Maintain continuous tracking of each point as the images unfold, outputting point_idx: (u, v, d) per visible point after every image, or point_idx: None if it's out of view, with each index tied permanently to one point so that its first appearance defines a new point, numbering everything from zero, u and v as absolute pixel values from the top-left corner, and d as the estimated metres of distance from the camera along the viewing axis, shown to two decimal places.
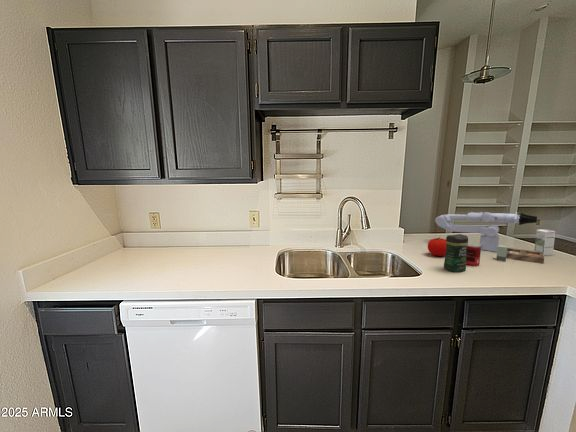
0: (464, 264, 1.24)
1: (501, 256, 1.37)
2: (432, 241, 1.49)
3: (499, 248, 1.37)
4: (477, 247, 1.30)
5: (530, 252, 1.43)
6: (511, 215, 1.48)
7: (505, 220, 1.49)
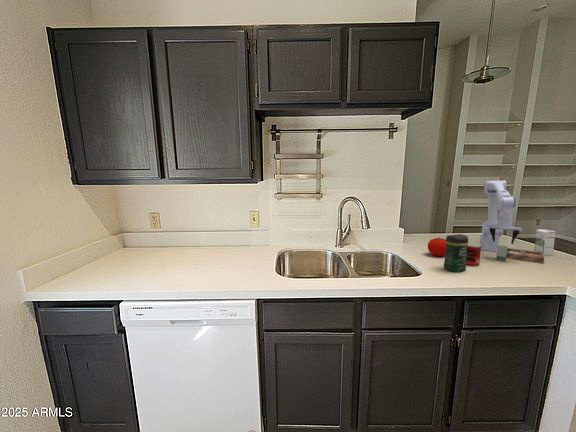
0: (464, 264, 1.24)
1: (501, 256, 1.37)
2: (432, 241, 1.49)
3: (499, 248, 1.37)
4: (477, 247, 1.30)
5: (530, 252, 1.43)
6: (500, 223, 1.36)
7: None
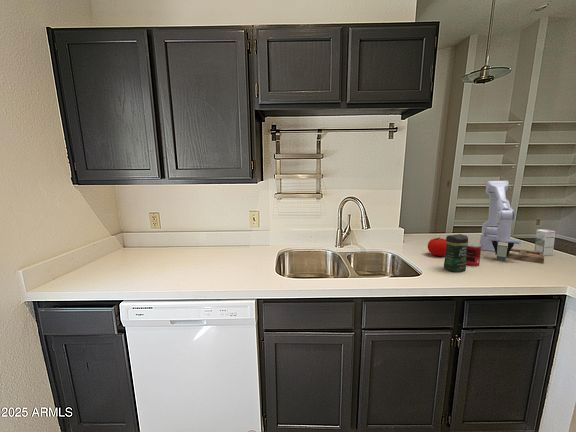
0: (464, 264, 1.24)
1: (501, 256, 1.37)
2: (432, 241, 1.49)
3: (499, 248, 1.37)
4: (477, 247, 1.30)
5: (530, 252, 1.43)
6: (498, 236, 1.37)
7: None
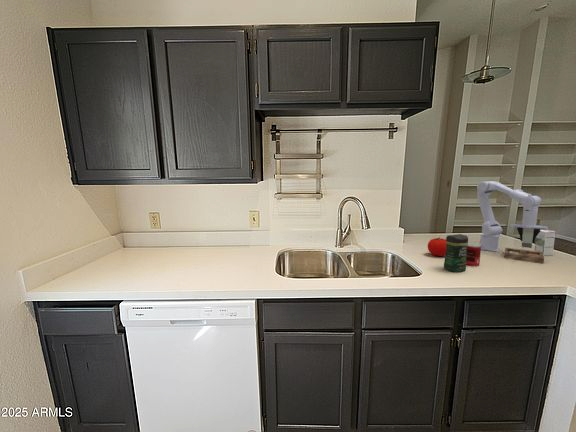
0: (464, 264, 1.24)
1: (527, 243, 1.37)
2: (432, 241, 1.49)
3: (525, 235, 1.37)
4: (477, 247, 1.30)
5: (530, 252, 1.43)
6: (524, 222, 1.37)
7: None
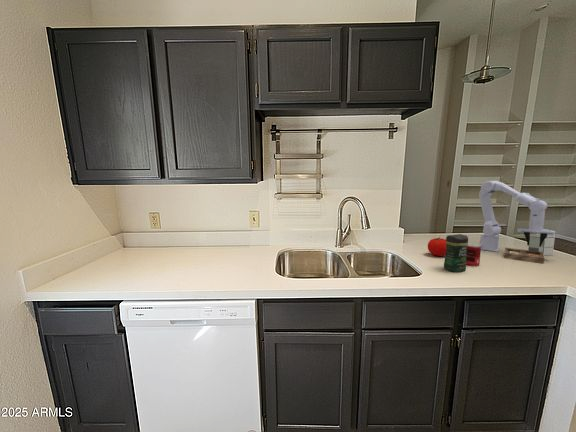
0: (464, 264, 1.24)
1: (534, 247, 1.38)
2: (432, 241, 1.49)
3: (532, 239, 1.38)
4: (477, 247, 1.30)
5: (530, 252, 1.43)
6: (531, 227, 1.38)
7: None
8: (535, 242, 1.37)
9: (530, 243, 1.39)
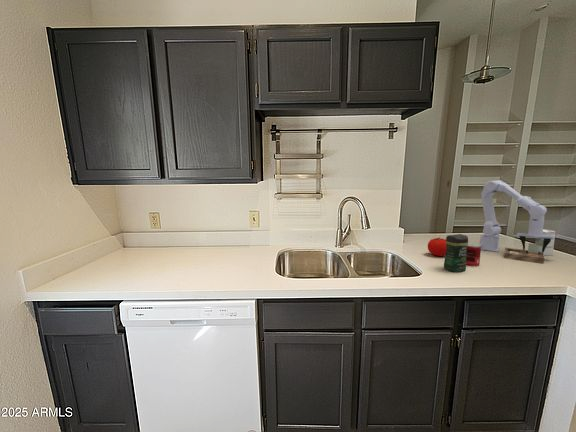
0: (464, 264, 1.24)
1: None
2: (432, 241, 1.49)
3: (531, 246, 1.39)
4: (477, 247, 1.30)
5: None
6: (530, 232, 1.38)
7: None
8: (534, 249, 1.38)
9: (529, 250, 1.39)
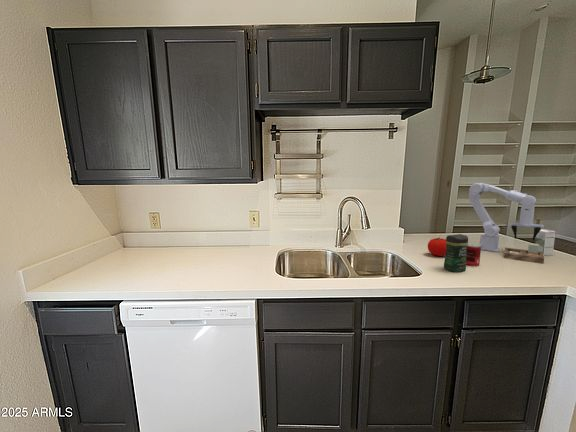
0: (464, 264, 1.24)
1: None
2: (432, 241, 1.49)
3: (531, 246, 1.39)
4: (477, 247, 1.30)
5: None
6: (521, 221, 1.44)
7: None
8: (534, 249, 1.38)
9: (529, 250, 1.39)
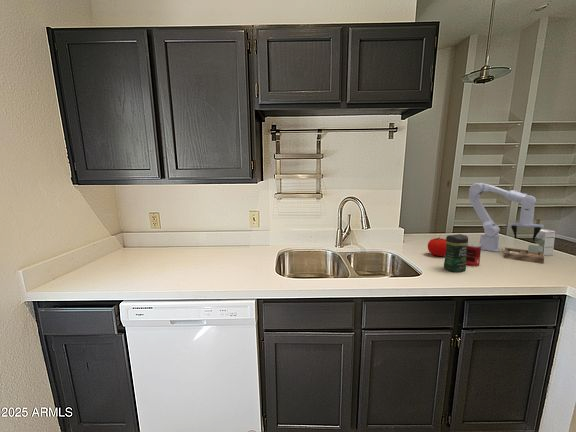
0: (464, 264, 1.24)
1: None
2: (432, 241, 1.49)
3: (531, 246, 1.39)
4: (477, 247, 1.30)
5: None
6: (521, 221, 1.44)
7: None
8: (534, 249, 1.38)
9: (529, 250, 1.39)
